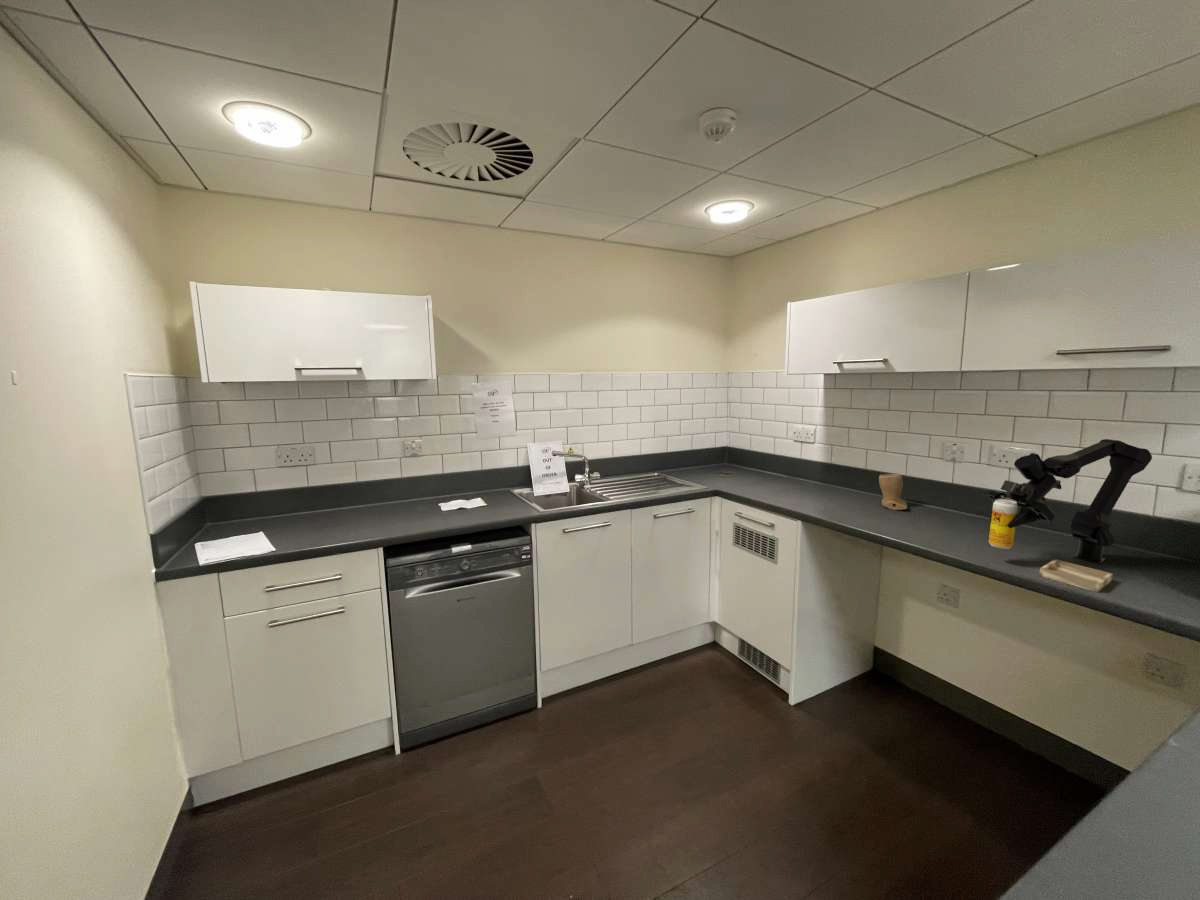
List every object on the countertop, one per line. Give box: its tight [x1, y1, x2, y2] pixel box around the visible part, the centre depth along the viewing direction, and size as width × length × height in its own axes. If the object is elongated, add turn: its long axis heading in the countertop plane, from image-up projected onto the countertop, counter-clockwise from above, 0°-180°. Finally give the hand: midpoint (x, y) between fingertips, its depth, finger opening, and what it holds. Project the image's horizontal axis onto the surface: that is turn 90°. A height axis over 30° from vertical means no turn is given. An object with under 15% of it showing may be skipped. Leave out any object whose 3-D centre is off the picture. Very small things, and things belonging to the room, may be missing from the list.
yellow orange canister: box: [988, 499, 1019, 550], centre depth 155 cm, size 6×6×15 cm
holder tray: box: [1038, 559, 1114, 593], centre depth 145 cm, size 13×13×2 cm
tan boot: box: [878, 473, 908, 511], centre depth 220 cm, size 15×12×15 cm
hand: (999, 523), depth 155 cm, fingers closed on yellow orange canister, 6 cm apart
